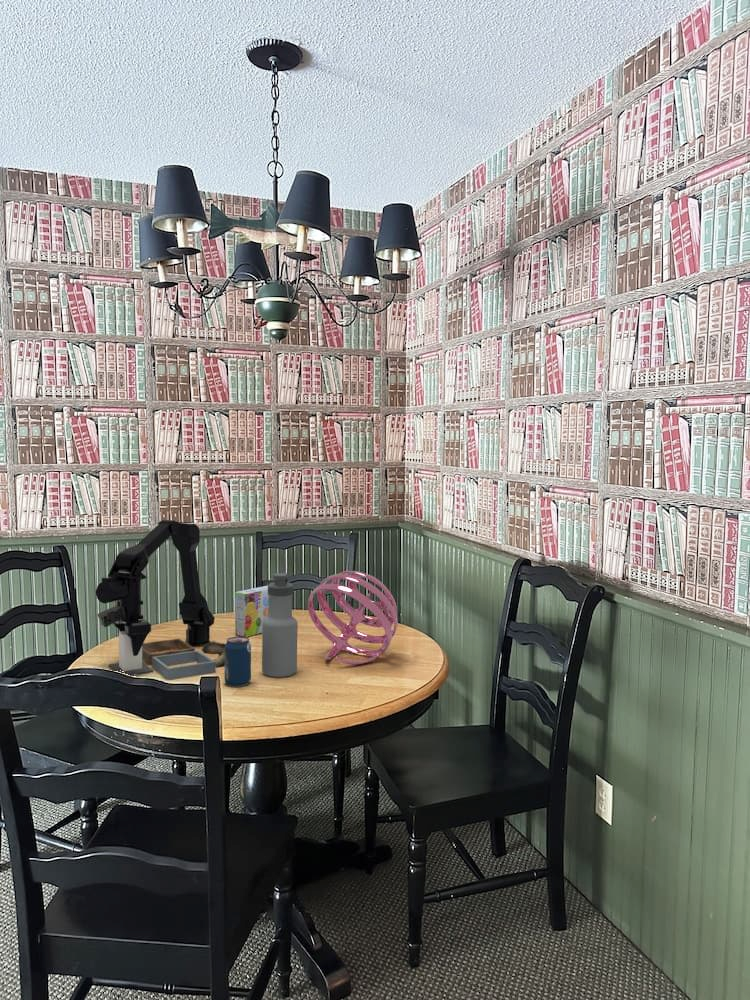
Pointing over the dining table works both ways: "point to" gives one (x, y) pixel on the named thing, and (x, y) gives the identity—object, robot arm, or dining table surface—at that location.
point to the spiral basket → (355, 614)
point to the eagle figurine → (215, 651)
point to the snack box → (251, 610)
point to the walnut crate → (164, 648)
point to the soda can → (237, 661)
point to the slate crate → (202, 667)
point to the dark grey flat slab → (131, 672)
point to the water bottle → (279, 630)
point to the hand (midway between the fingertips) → (130, 651)
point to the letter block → (128, 654)
